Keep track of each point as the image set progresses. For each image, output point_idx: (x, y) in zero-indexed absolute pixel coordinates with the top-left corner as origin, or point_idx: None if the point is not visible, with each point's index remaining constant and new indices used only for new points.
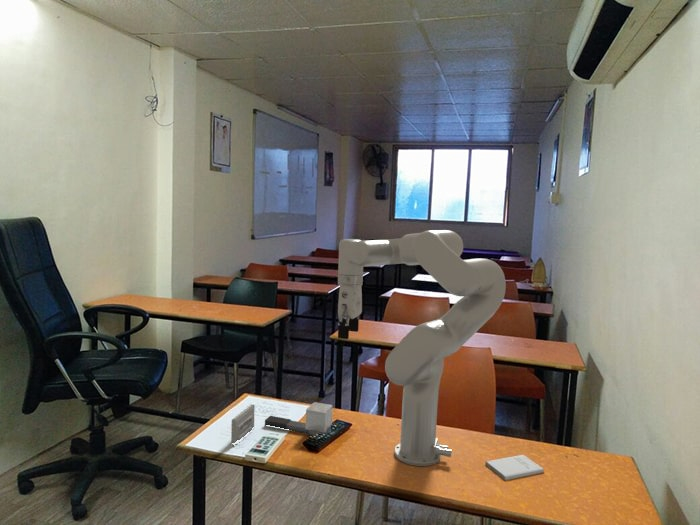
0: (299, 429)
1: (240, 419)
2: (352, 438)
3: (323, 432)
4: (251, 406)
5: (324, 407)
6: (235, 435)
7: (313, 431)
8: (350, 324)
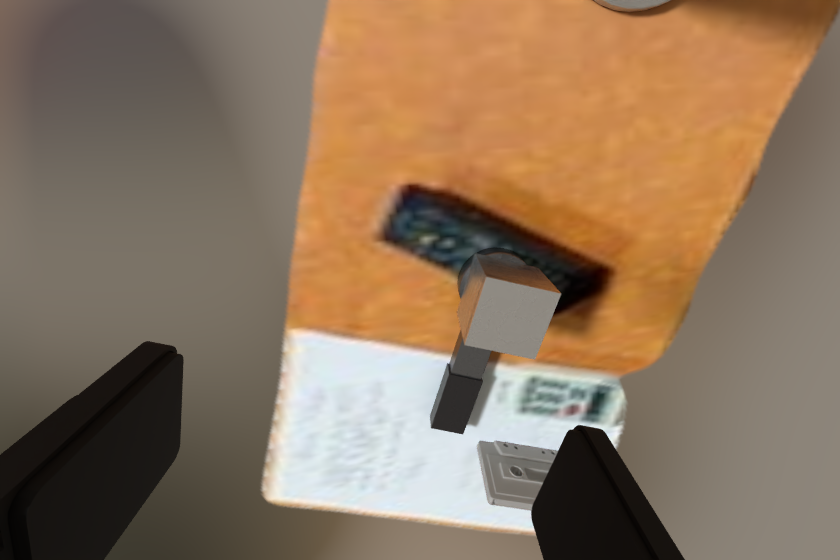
0: None
1: None
2: (517, 174)
3: None
4: (505, 501)
5: (512, 302)
6: None
7: None
8: (120, 512)
